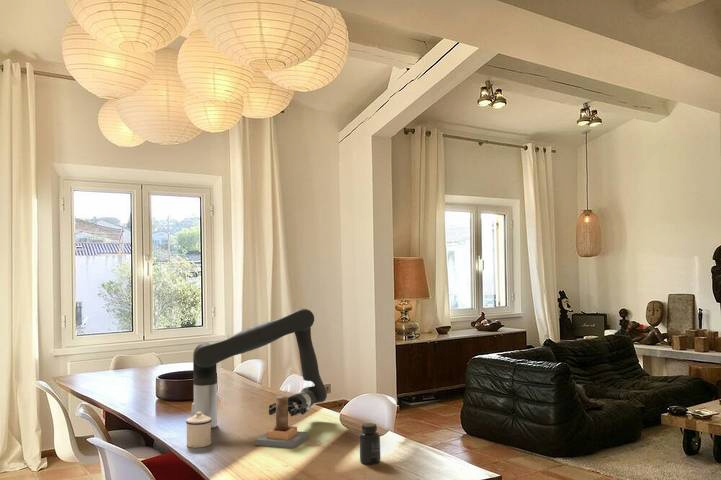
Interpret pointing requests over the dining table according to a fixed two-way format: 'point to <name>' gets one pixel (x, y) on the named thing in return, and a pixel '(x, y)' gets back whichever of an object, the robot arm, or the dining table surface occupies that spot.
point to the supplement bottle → (369, 444)
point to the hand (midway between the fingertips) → (280, 412)
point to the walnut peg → (281, 413)
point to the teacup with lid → (198, 430)
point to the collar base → (282, 438)
